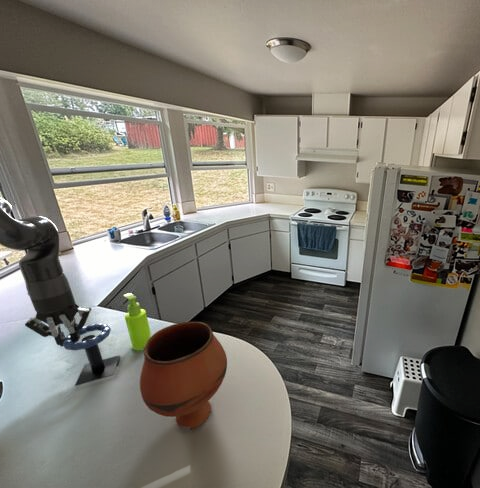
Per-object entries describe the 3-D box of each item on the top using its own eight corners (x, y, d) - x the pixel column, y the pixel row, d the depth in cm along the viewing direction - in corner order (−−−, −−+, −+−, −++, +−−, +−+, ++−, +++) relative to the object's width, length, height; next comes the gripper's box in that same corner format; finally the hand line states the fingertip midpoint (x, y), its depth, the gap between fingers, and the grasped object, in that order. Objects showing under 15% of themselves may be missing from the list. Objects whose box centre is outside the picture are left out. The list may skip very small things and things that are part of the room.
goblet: (215, 454, 58) (202, 372, 50) (132, 453, 58) (105, 370, 50) (240, 383, 76) (233, 315, 68) (177, 383, 76) (162, 313, 68)
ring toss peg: (75, 388, 73) (61, 353, 69) (85, 366, 80) (73, 333, 76) (114, 377, 77) (103, 343, 73) (120, 357, 85) (111, 325, 80)
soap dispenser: (146, 335, 95) (135, 289, 88) (155, 342, 91) (145, 295, 85) (128, 345, 90) (115, 296, 83) (137, 352, 87) (124, 303, 80)
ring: (57, 356, 68) (55, 350, 67) (71, 333, 77) (70, 327, 76) (106, 345, 73) (104, 339, 72) (114, 324, 81) (113, 319, 81)
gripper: (88, 280, 73) (103, 329, 79) (21, 289, 67) (43, 342, 73) (79, 292, 67) (96, 344, 73) (4, 304, 61) (29, 360, 67)
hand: (69, 342), depth 73 cm, fingers closed on ring, 2 cm apart
